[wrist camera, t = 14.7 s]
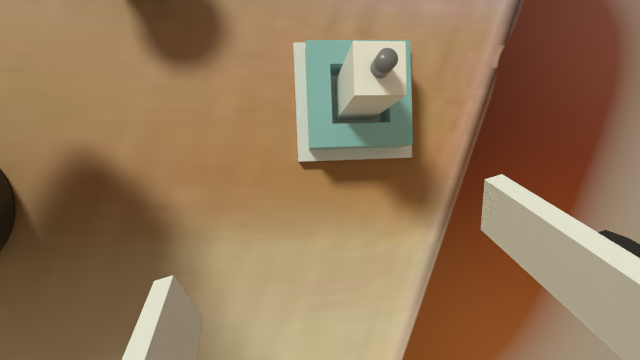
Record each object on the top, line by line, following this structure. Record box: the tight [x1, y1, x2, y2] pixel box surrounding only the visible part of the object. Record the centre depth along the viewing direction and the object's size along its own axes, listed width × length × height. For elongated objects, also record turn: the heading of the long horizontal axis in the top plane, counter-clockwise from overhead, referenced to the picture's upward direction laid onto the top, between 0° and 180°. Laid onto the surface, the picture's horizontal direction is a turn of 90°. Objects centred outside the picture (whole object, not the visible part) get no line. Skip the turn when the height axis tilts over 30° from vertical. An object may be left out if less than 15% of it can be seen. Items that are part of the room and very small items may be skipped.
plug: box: [335, 41, 407, 120], centre depth 28 cm, size 4×4×13 cm
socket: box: [293, 40, 413, 162], centre depth 33 cm, size 14×14×4 cm
